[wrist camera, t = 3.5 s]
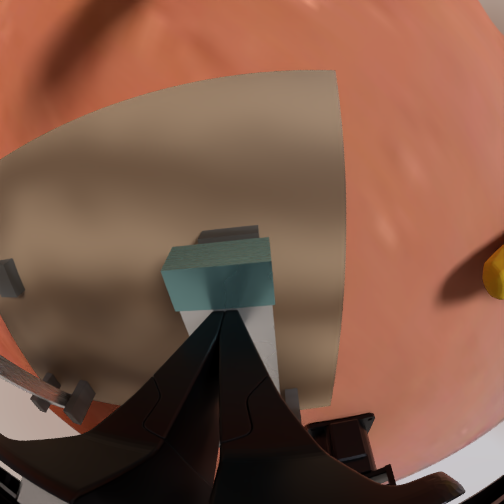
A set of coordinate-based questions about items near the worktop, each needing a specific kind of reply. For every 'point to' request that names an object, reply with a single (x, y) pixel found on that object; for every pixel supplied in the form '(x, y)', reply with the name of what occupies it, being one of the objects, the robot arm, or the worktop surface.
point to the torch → (495, 274)
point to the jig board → (175, 229)
